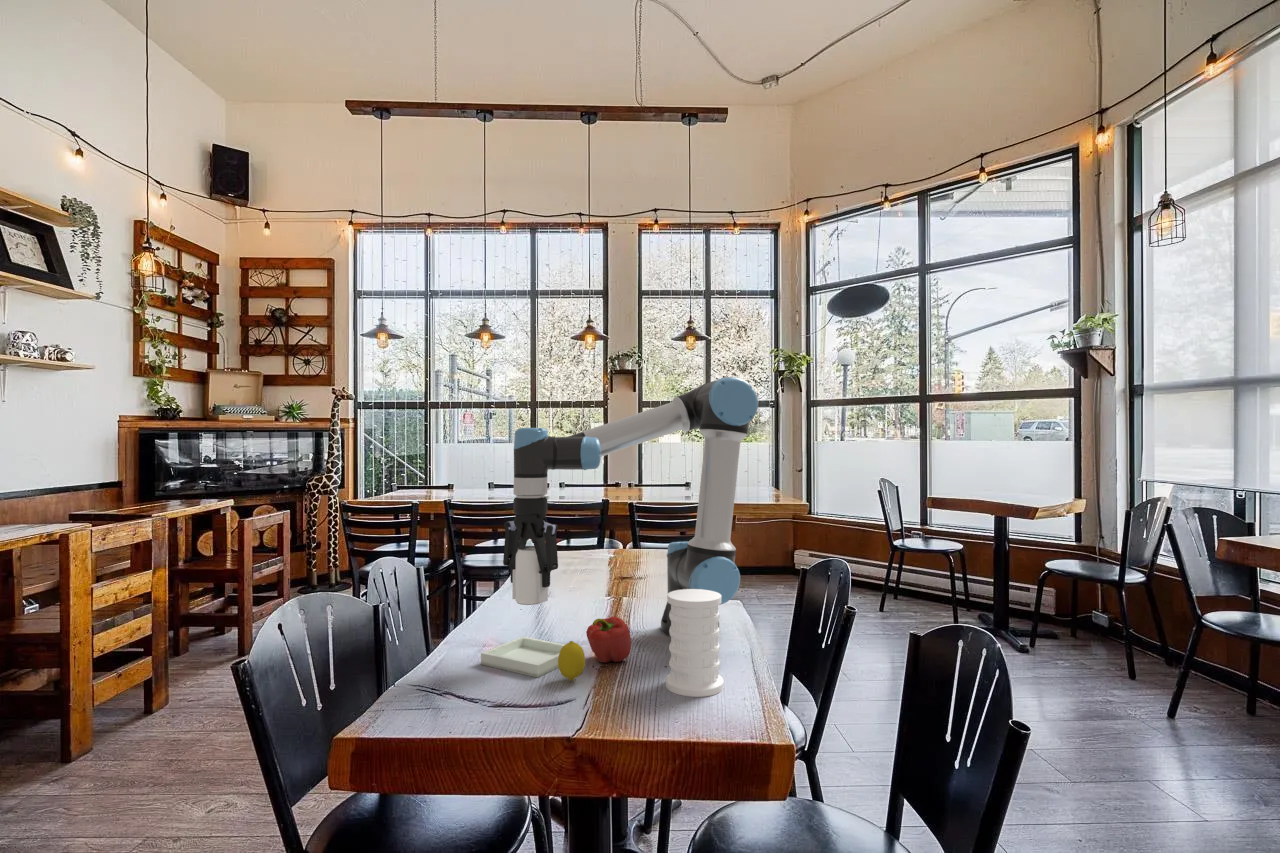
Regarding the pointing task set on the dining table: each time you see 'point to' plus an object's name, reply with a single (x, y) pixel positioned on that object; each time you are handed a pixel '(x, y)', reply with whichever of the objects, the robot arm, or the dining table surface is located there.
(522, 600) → the can
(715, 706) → the dining table surface
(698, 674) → the decorative container
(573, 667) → the lemon
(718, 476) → the robot arm
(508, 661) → the dish
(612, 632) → the vegetable
